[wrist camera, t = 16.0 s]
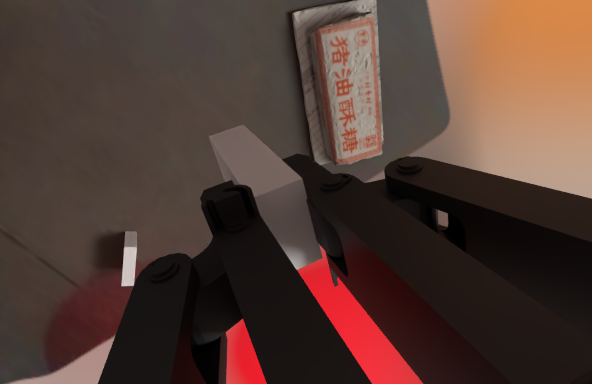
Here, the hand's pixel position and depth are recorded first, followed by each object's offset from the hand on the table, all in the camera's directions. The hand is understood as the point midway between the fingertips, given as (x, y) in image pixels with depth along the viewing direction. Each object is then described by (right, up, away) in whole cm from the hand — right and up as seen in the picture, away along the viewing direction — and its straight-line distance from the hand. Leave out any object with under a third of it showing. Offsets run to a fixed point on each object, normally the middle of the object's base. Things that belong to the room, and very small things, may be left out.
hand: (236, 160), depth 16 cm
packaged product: (+8, +12, +30) cm, 33 cm away
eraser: (-17, -8, +28) cm, 33 cm away
